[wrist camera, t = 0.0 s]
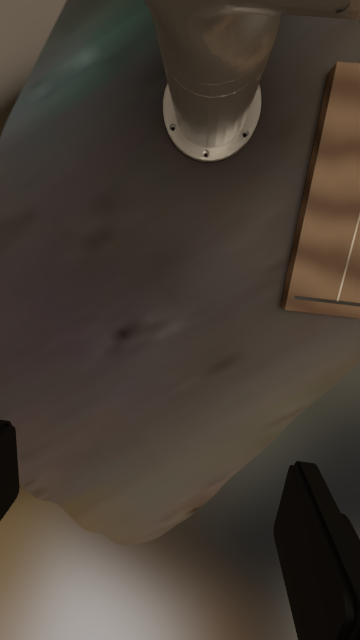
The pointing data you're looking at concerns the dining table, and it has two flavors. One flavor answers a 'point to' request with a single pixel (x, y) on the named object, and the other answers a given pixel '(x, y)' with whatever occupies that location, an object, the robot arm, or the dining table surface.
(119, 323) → the dining table surface
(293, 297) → the walnut board
